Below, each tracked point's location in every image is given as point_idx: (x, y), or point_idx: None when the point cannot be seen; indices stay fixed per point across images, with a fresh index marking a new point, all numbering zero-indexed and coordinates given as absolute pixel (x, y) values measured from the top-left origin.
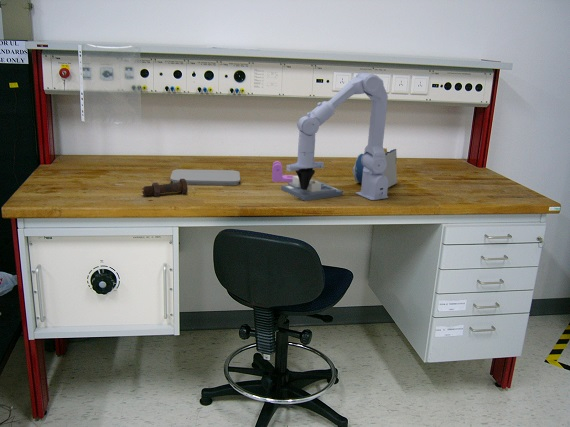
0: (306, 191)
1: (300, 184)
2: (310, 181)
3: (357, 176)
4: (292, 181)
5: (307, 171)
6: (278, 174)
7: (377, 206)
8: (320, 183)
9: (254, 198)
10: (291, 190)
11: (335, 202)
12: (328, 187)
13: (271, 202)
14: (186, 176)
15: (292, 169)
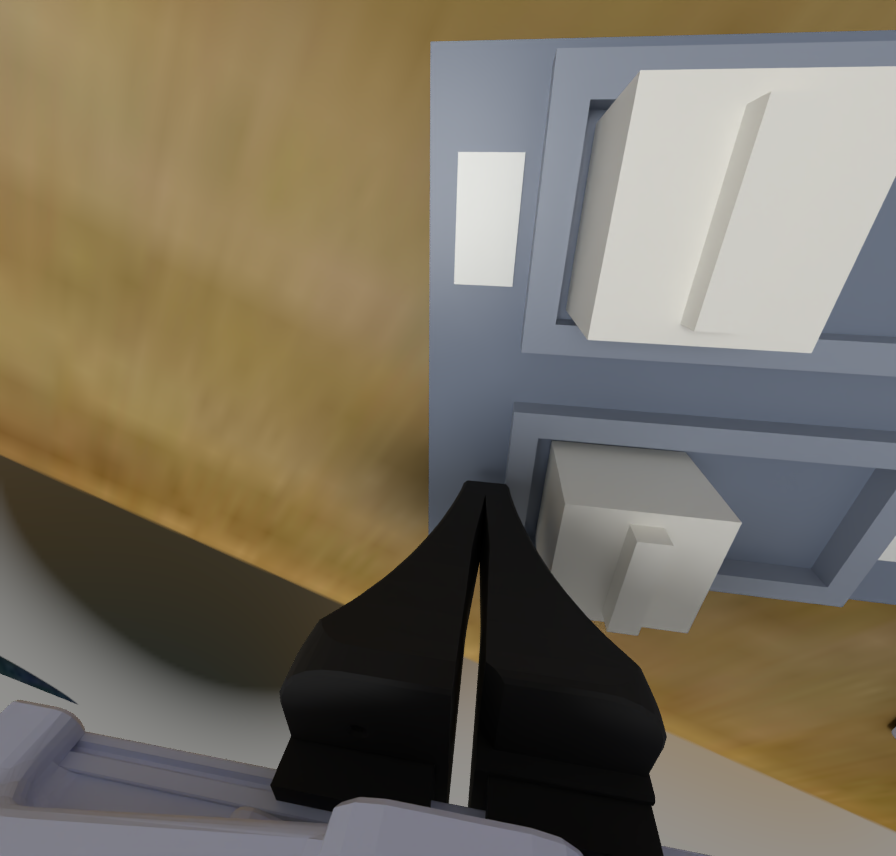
0: None
1: (453, 508)
2: (626, 539)
3: None
4: (608, 110)
5: (470, 800)
6: None
7: (777, 773)
8: (675, 631)
9: (46, 273)
10: (429, 344)
11: (621, 636)
12: (870, 515)
13: (175, 434)
14: None
15: (109, 794)
